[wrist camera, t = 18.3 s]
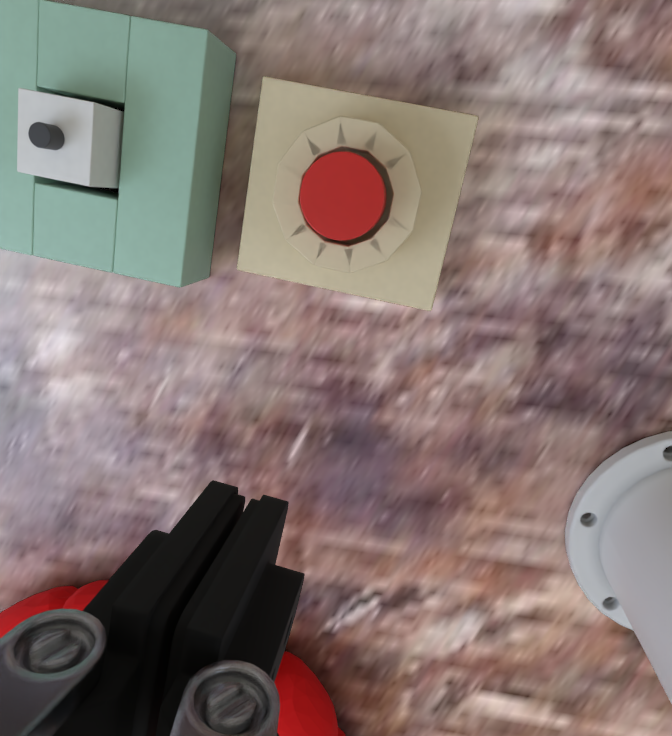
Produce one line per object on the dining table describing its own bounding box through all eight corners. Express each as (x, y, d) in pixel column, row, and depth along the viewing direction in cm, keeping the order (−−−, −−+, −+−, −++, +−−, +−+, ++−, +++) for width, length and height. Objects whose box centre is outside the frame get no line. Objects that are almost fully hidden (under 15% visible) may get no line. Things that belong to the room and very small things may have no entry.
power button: (394, 163, 25) (392, 160, 23) (377, 245, 26) (374, 248, 24) (314, 147, 25) (307, 143, 23) (300, 229, 26) (293, 231, 24)
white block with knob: (157, 122, 29) (80, 97, 22) (151, 190, 30) (76, 186, 23) (95, 110, 29) (0, 82, 23) (91, 178, 30) (0, 170, 24)
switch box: (474, 122, 27) (483, 108, 23) (430, 304, 30) (432, 318, 26) (273, 85, 28) (251, 66, 24) (248, 265, 30) (224, 274, 27)
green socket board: (237, 53, 28) (208, 29, 24) (209, 277, 31) (180, 288, 27) (-115, -11, 29) (-195, -44, 25) (-105, 210, 32) (-174, 211, 28)
